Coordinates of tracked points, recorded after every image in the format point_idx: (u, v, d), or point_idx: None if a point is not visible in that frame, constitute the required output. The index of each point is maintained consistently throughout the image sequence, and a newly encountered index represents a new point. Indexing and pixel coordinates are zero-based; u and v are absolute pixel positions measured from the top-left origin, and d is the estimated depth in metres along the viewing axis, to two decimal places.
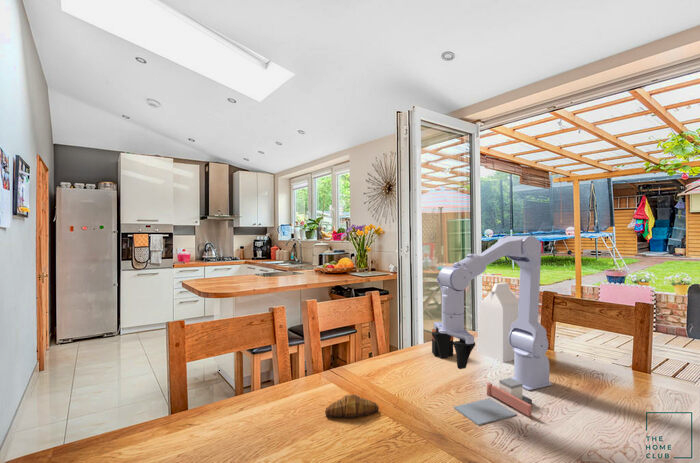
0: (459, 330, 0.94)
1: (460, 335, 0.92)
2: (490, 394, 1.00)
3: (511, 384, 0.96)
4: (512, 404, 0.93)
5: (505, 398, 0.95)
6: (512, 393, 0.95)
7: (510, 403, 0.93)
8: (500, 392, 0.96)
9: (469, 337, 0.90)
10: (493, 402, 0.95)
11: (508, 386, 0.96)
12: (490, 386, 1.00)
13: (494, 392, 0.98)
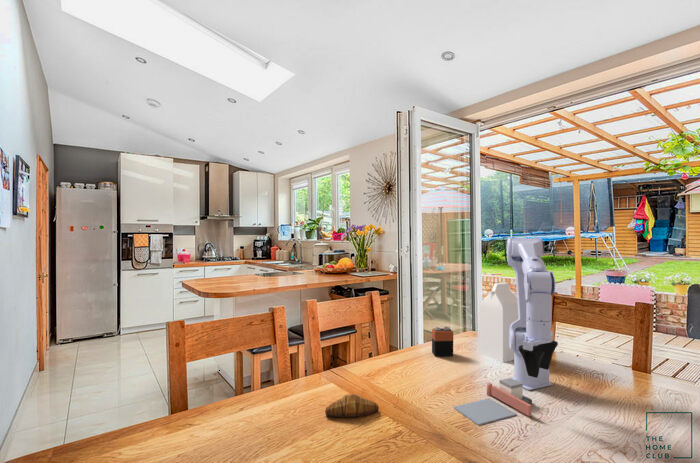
0: (534, 337, 0.90)
1: (524, 340, 0.90)
2: (490, 394, 1.00)
3: (511, 384, 0.96)
4: (512, 404, 0.93)
5: (505, 398, 0.95)
6: (512, 393, 0.95)
7: (510, 403, 0.93)
8: (500, 392, 0.96)
9: (525, 342, 0.88)
10: (493, 402, 0.95)
11: (508, 386, 0.96)
12: (490, 386, 1.00)
13: (494, 392, 0.98)
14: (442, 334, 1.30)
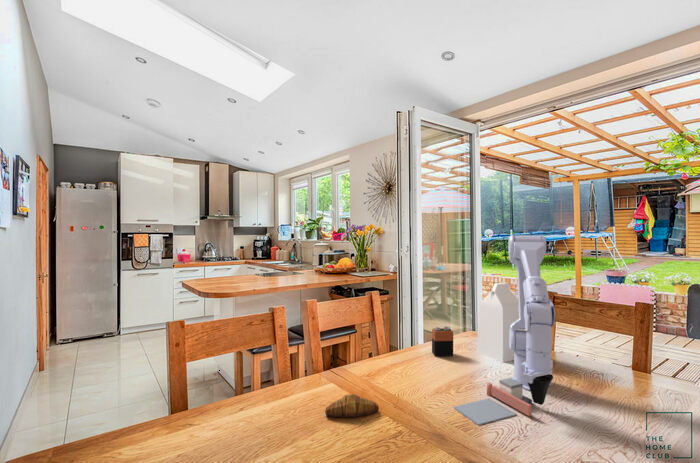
0: (534, 368, 0.91)
1: (524, 371, 0.90)
2: (490, 394, 1.00)
3: (511, 384, 0.96)
4: (512, 404, 0.93)
5: (505, 398, 0.95)
6: (512, 393, 0.95)
7: (510, 403, 0.93)
8: (500, 392, 0.96)
9: (525, 375, 0.88)
10: (493, 402, 0.95)
11: (508, 386, 0.96)
12: (490, 386, 1.00)
13: (494, 392, 0.98)
14: (442, 334, 1.30)
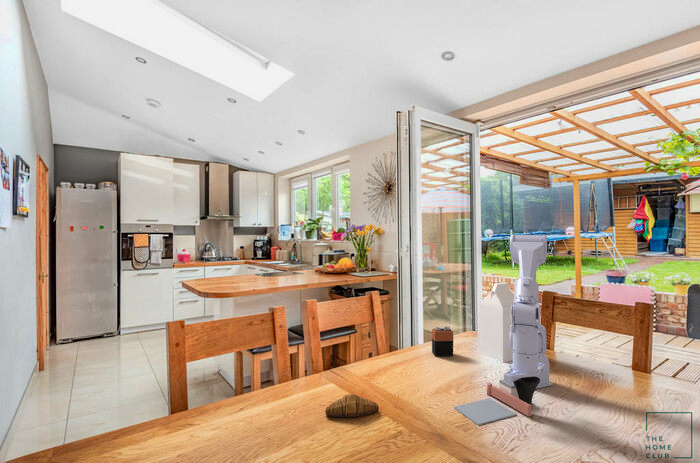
0: (518, 369, 0.90)
1: None
2: (490, 394, 1.00)
3: (511, 384, 0.96)
4: (512, 404, 0.92)
5: (505, 398, 0.95)
6: (512, 393, 0.95)
7: (510, 403, 0.93)
8: (500, 392, 0.96)
9: (505, 375, 0.88)
10: (493, 402, 0.95)
11: (508, 386, 0.96)
12: (490, 386, 1.00)
13: (494, 392, 0.98)
14: (442, 334, 1.30)
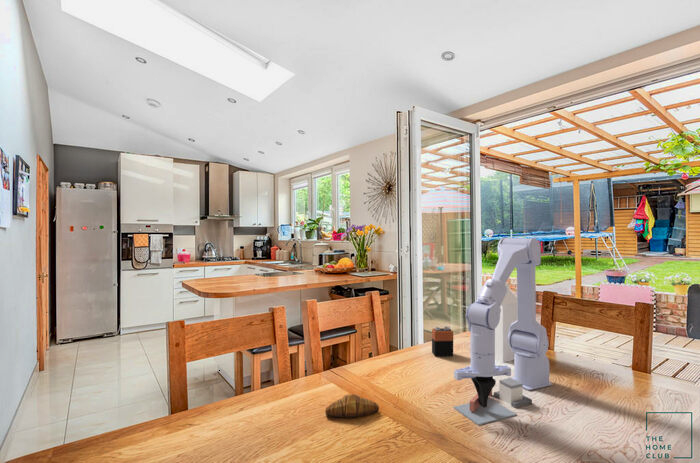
0: (472, 368, 0.91)
1: None
2: None
3: (511, 384, 0.96)
4: None
5: None
6: (512, 393, 0.95)
7: None
8: None
9: (454, 371, 0.90)
10: (493, 402, 0.95)
11: (508, 386, 0.96)
12: None
13: None
14: (442, 334, 1.30)
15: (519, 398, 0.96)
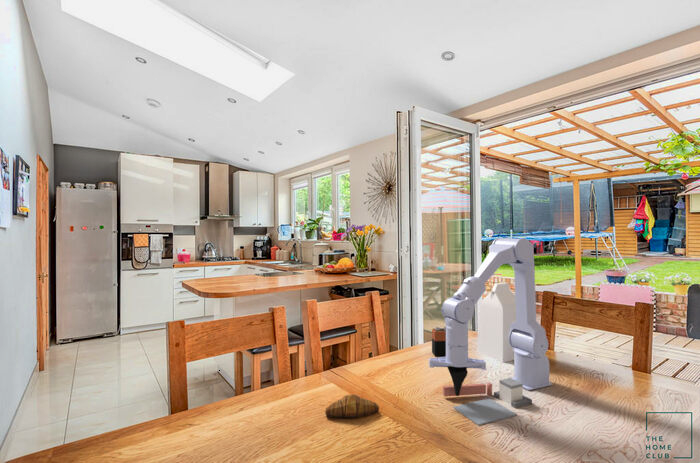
0: (445, 358, 0.97)
1: None
2: None
3: (511, 384, 0.96)
4: None
5: None
6: (512, 393, 0.95)
7: None
8: None
9: (429, 359, 0.98)
10: (493, 402, 0.95)
11: (508, 386, 0.96)
12: None
13: None
14: (442, 334, 1.30)
15: (519, 398, 0.96)
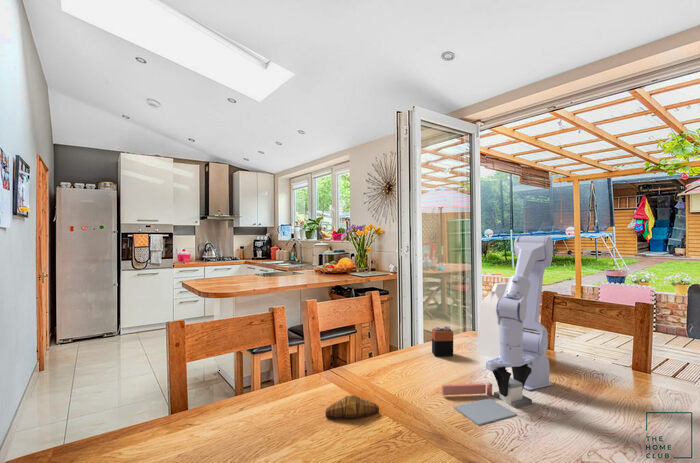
0: (502, 359, 0.96)
1: None
2: None
3: (511, 384, 0.96)
4: None
5: None
6: (512, 393, 0.95)
7: None
8: None
9: (487, 362, 0.96)
10: (493, 402, 0.95)
11: (508, 386, 0.96)
12: None
13: None
14: (442, 334, 1.30)
15: (519, 398, 0.96)
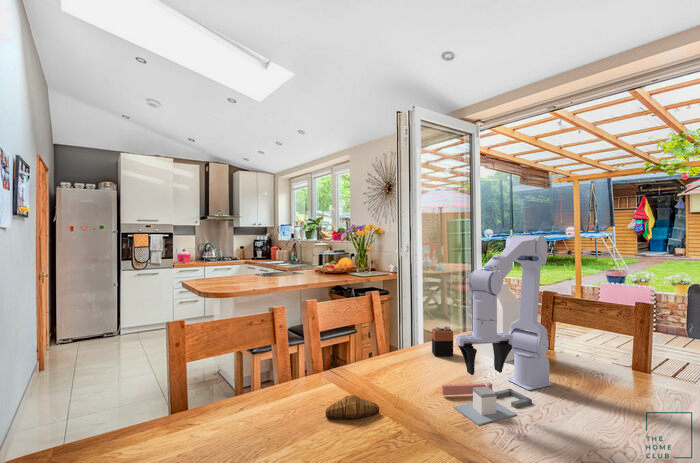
0: (474, 335, 0.91)
1: None
2: None
3: (483, 393, 0.90)
4: None
5: None
6: (483, 402, 0.89)
7: None
8: None
9: (457, 337, 0.90)
10: None
11: (479, 395, 0.90)
12: None
13: None
14: (442, 334, 1.30)
15: (492, 408, 0.90)
